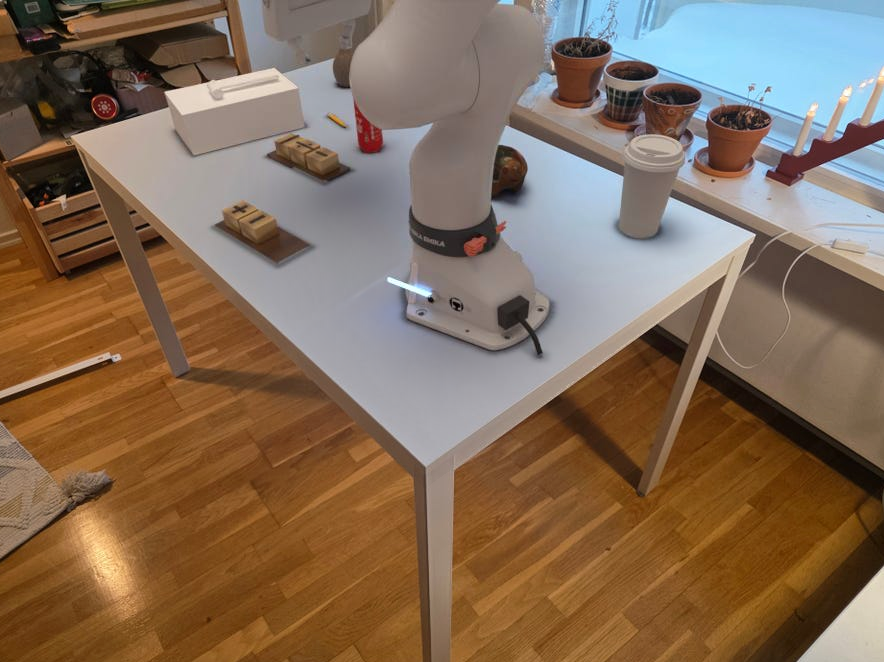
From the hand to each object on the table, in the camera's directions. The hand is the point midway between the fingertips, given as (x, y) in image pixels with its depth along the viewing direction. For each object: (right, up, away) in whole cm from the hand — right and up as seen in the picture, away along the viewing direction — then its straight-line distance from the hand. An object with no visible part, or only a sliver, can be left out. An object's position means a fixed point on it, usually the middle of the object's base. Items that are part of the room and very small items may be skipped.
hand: (325, 55), depth 109 cm
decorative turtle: (+31, -19, +13) cm, 39 cm away
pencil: (-3, +2, +36) cm, 37 cm away
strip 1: (-12, -30, +3) cm, 32 cm away
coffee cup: (+53, -29, +2) cm, 61 cm away
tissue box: (-25, 0, +35) cm, 43 cm away
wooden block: (-7, -11, +22) cm, 25 cm away
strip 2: (-7, -11, +22) cm, 26 cm away
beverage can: (+5, -7, +27) cm, 28 cm away
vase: (-3, +17, +53) cm, 56 cm away
